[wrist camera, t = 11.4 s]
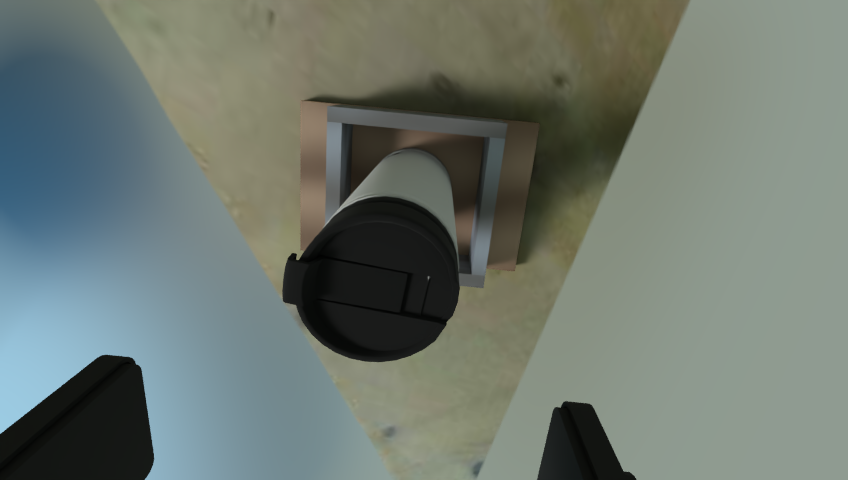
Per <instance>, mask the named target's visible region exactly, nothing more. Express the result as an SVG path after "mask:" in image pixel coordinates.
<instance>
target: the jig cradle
mask: <svg viewBox="0 0 848 480" xmlns="http://www.w3.org/2000/svg"><path fill="white" fill-rule="evenodd" d="M539 126H540V123H536V122H526V121H515V120H505V119H495V118H484V117H474V116H463V115H453V114H443V113H432V112H422V111H412V110H401V109H391V108H381V107H370V106H360V105H350V104H339V103H329V102H318V101H308V100H301V250H304V251H305V250H306V248H307V247H308V246H309V244H310V243H311V242H312V241H313V239H314V238H315V237H316V236H317V235H318V234H319V232H320V231H321V230H322V229H323V227H324V225H325V224H326V223H327V222H328V220H329V219H330V218H331V217H332V215H333V214H334V213H335V212H336V211H337V210H338V209H339V208H340V207H341V205H342V204H343V203H344V202H345V201H346V200H347V199H348V198H349V196H350V195H351V194H352V193H353V192H354V191H355V190H356V189H357V187H358V186H359V185H360V184H361V183H362V182H363V181H364V180H365V179H366V177H367V176H368V175H369V174H370V173H371V172H372V171H373V170H374V168H375V167H376V166H377V165H378V164H379V163H380V162H381V161H382V160H383V159H384V158H385V157H386V156H387V155H388V154H390V153H392V152H394V151H396V150H399V149H402V148H411V147H412V148H420V149H423V150H426V151H428V152H430V153H432V154H434V155H435V156H436V157H437V158H438V159H440V160H441V162H442V163H443V164H444V165H445V167H446V169H447V171H448V173H449V176H450V180H451V187H452V197H453V207H454V217H455V227H456V236H457V246H458V257H459V286H468V287H478V288H483V286H484V280H485V273H486V268H487V269H497V270H507V271H515V267H516V261H517V255H518V249H519V243H520V238H521V232H522V226H523V220H524V214H525V208H526V202H527V197H528V191H529V185H530V179H531V173H532V167H533V162H534V156H535V150H536V144H537V138H538V132H539Z"/></svg>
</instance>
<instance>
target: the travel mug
mask: <svg viewBox="0 0 848 480" xmlns="http://www.w3.org/2000/svg"><path fill="white" fill-rule="evenodd" d="M296 256H297V254H295V253H292V254H291V255H290V256H289V258H288V260H287V263H286V266H285V272H284V279H283V291H282V292H283V301H284V302H285V303H290V304H294V305H296V306H297V310H298V313H299V315H300V317H301V319H302V321H303V323H304V324H305V326H306V327H307V329H308V330H309V331H310V333H311V334H312V335H313V336H314V337H315V338H316V339H317V340H318V341H319V342H321V343H322V344H323V345H324V346H326V347H328V348H329V349H331V350H332V351H334V352H336V353H338V354H341V355H343V356H346V357H348V358H351V359H356V360H361V361H368V362H385V361H393V360H398V359H401V358H405V357H408V356H411V355H413V354H415V353H417V352H419V351H421V350H423V349H425V348H426V347H427V346H429V345H430V344H431V343H433V342H434V341H435V340H436V339H437V337H438V336H439V335H440V333H441V332H442V330H443V329H444V328H445V326H446V325H447V324H446V322H447V321H448V320H449V319H450V318H451V317H452V316H453V313H454V311H455V308H456V305H457V303H458V296H459V290H460V286H459V257H458V246H457V236H456V227H455V217H454V207H453V197H452V187H451V180H450V176H449V173H448V171H447V169H446V167H445V165H444V164H443V163H442V162H441V160H440V159H438V158H437V157H436V156H435V155H434V154H432V153H430V152H428V151H426V150H423V149H420V148H412V147H411V148H402V149H399V150H396V151H394V152H392V153H390V154H388V155H387V156H386V157H385V158H384V159H383V160H382V161H381V162H380V163H379V164H378V165H377V166H376V167H375V168H374V170H373V171H372V172H371V173H370V174H369V175H368V176H367V177H366V179H365V180H364V181H363V182H362V183H361V184H360V185H359V186H358V187H357V189H356V190H355V191H354V192H353V193H352V194H351V195H350V196H349V198H348V199H347V200H346V201H345V202H344V203H343V204H342V205H341V207H340V208H339V209H338V210H337V211H336V212H335V213H334V214H333V215H332V217H331V218H330V219H329V220H328V222H327V223H326V224H325V225H324V227H323V229H322V230H321V231H320V232H319V234H318V235H317V236H316V237H315V238H314V239H313V241H312V242H311V243H310V244H309V246H308V247H307V248H306V250H305V251H304V253H303V254H302V256H301V258H300V259H299V260H296Z"/></svg>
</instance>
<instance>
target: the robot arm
mask: <svg viewBox="0 0 848 480" xmlns="http://www.w3.org/2000/svg"><path fill="white" fill-rule="evenodd" d="M153 462H154V453H153V446H152V440H151V432H150V425H149V418H148V411H147V405H146V398H145V391H144V384H143V377H142V371H141V368H140V366H139V365H136V363H135V361H134V360H133V358H130V357H122V356H112V355H102V356H100V357H98V358H97V359H95V360H94V361H93V362H92V363H90V364H89V365H88V366H86V367H85V368H84V369H83V370H81V371H80V372H79V373H78V374H76V375H75V376H74V377H72V378H71V379H70V380H69V381H67V382H66V383H65V384H63V385H62V386H61V387H60V388H58V389H57V390H56V391H55V392H53V393H52V394H51V395H50V396H48V397H47V398H46V399H44V400H43V401H42V402H41V403H40V404H38V405H37V406H35V407H34V408H33V409H32V410H30V411H29V412H28V413H27V414H25V415H24V416H23V417H21V418H20V419H19V420H18V421H16V422H15V423H14V424H12V425H11V426H10V427H9V428H7V429H6V430H5V431H4V432H2V433H1V434H0V480H145V478H146V477H147V476H148V474H149V472H150V470H151V468H152V466H153ZM537 480H636V478H635V476H634V475H632V474H631V473H630V472H623V469H622V468H621V465H620V463H619V461H618V459H617V457H616V455H615V453H614V450H613V448H612V446H611V444H610V442H609V440H608V438H607V436H606V433H605V431H604V429H603V427H602V425H601V423H600V421H599V419H598V417H597V414H596V412H595V410H594V408H593V407H592V405H590V404H587V403H577V402H567V401H565V402H563V404H562V406H561V408H558V407H556V408H554V410H553V413H552V418H551V422H550V426H549V431H548V435H547V439H546V444H545V448H544V452H543V457H542V461H541V465H540V470H539V474H538V479H537Z"/></svg>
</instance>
